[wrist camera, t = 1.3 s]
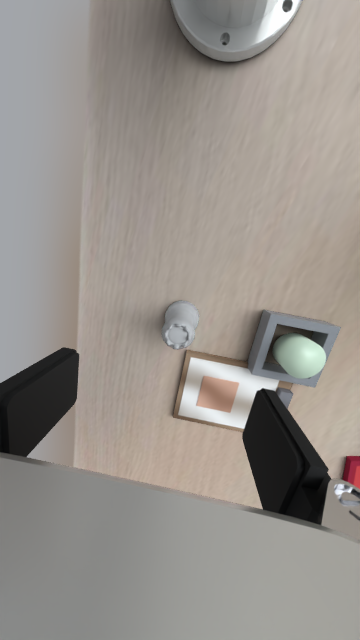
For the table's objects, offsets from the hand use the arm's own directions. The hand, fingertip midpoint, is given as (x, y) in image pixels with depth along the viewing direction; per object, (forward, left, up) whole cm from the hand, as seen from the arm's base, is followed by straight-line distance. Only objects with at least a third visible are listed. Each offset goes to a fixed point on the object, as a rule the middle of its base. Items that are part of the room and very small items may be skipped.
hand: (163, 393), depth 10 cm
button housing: (+1, +14, -16) cm, 21 cm away
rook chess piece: (0, 0, -16) cm, 16 cm away
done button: (+1, +14, -14) cm, 20 cm away
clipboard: (+10, +9, -16) cm, 21 cm away
